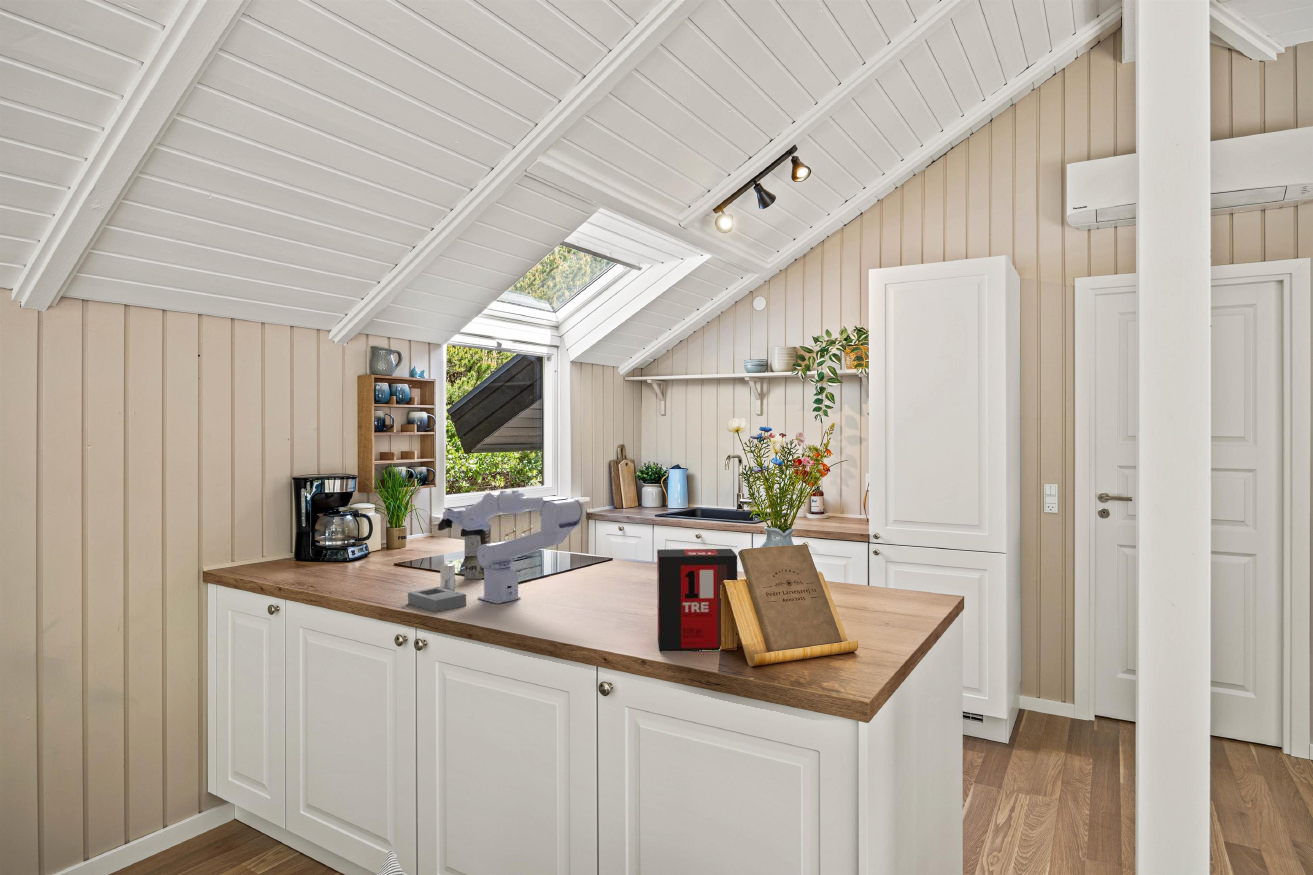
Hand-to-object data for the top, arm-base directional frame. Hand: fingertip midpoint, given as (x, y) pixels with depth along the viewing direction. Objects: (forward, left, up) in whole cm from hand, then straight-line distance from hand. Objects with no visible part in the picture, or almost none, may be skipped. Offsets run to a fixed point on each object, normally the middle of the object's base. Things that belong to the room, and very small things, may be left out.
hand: (450, 530), depth 206 cm
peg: (-3, +3, -17) cm, 18 cm away
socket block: (-13, +13, -17) cm, 25 cm away
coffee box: (+10, -16, -18) cm, 25 cm away
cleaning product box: (-88, -5, -18) cm, 90 cm away
